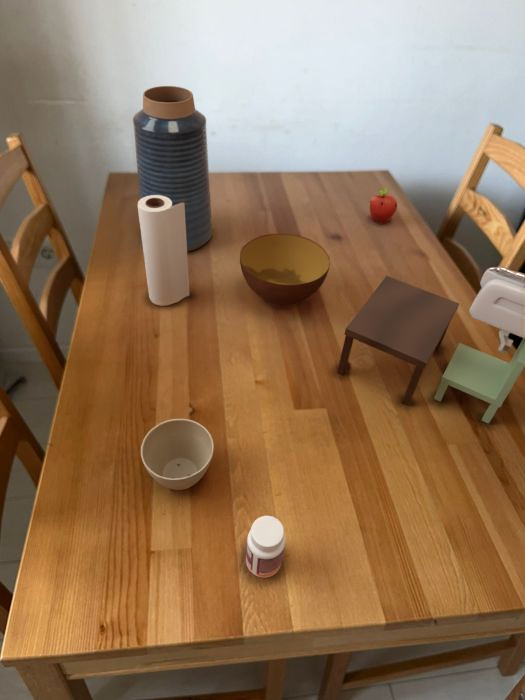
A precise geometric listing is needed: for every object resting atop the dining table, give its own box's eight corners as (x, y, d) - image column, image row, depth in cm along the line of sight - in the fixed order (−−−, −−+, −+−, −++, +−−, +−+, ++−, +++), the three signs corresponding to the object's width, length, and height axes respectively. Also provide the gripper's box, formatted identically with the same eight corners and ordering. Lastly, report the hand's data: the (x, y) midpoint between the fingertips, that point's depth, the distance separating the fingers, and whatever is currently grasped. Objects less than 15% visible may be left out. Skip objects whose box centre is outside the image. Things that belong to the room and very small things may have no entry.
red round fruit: (365, 212, 134) (373, 176, 127) (390, 214, 135) (400, 178, 128) (368, 228, 129) (376, 191, 122) (395, 230, 129) (405, 193, 122)
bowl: (225, 284, 109) (225, 243, 102) (296, 265, 116) (301, 226, 109) (262, 335, 99) (266, 294, 92) (339, 311, 105) (347, 271, 98)
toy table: (440, 347, 99) (459, 303, 91) (408, 407, 88) (426, 363, 80) (374, 319, 104) (386, 275, 96) (335, 373, 93) (345, 328, 85)
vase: (184, 262, 114) (174, 116, 92) (128, 238, 119) (106, 95, 97) (225, 231, 124) (226, 92, 102) (172, 210, 130) (162, 74, 108)
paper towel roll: (143, 300, 104) (130, 204, 89) (160, 284, 108) (151, 190, 93) (172, 312, 102) (164, 216, 87) (189, 296, 106) (184, 201, 91)
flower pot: (131, 482, 75) (125, 454, 70) (176, 436, 81) (173, 407, 76) (184, 519, 71) (181, 492, 66) (227, 468, 77) (228, 440, 72)
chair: (503, 388, 92) (539, 326, 82) (489, 425, 86) (526, 364, 75) (449, 365, 95) (477, 303, 85) (432, 399, 89) (459, 337, 79)
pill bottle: (287, 554, 68) (294, 524, 62) (270, 585, 65) (275, 557, 59) (257, 536, 70) (260, 505, 64) (238, 565, 67) (240, 536, 61)
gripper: (482, 272, 73) (451, 342, 82) (641, 328, 66) (587, 398, 75) (493, 252, 77) (462, 321, 86) (644, 303, 70) (592, 372, 79)
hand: (521, 357), depth 81 cm, fingers open, 4 cm apart
